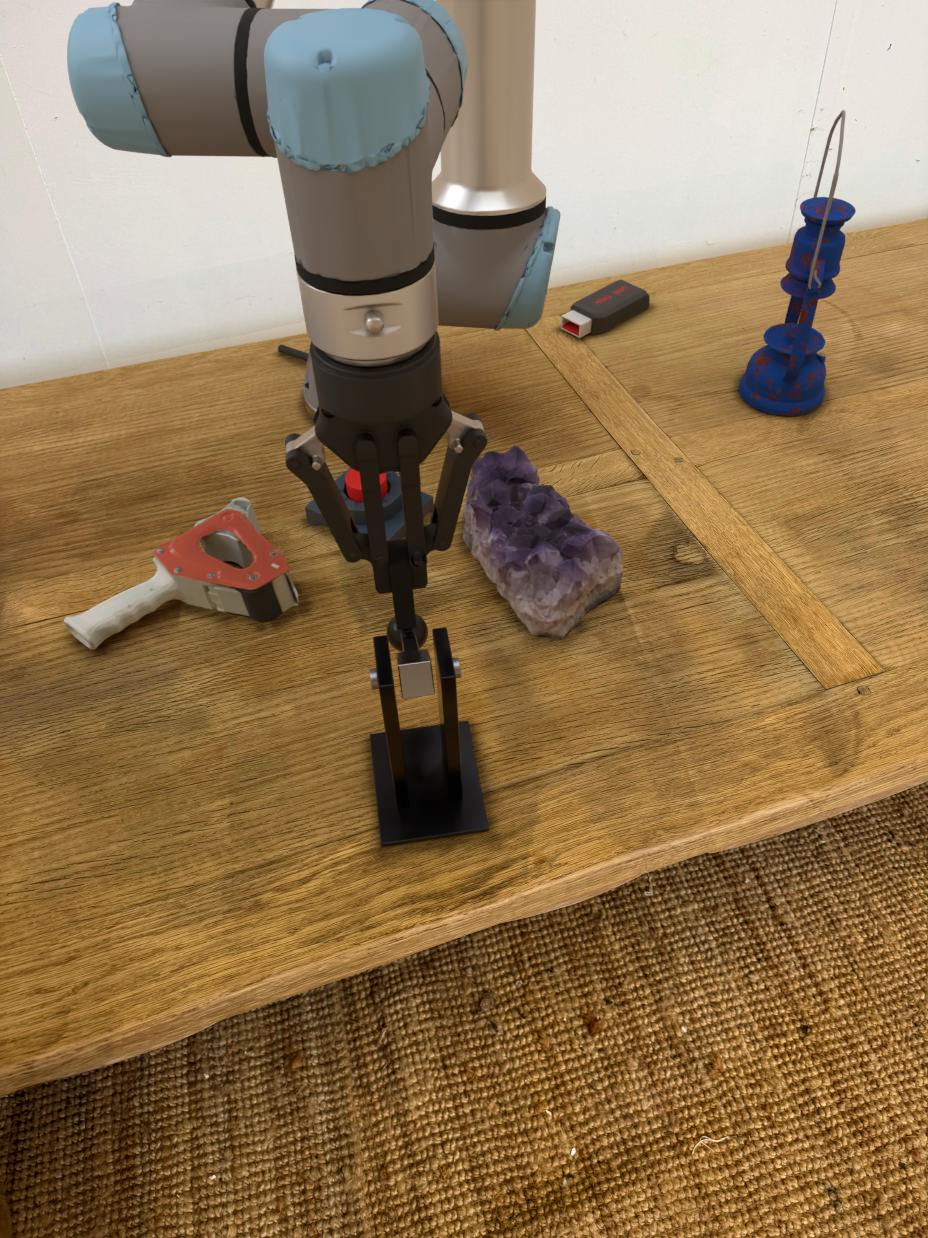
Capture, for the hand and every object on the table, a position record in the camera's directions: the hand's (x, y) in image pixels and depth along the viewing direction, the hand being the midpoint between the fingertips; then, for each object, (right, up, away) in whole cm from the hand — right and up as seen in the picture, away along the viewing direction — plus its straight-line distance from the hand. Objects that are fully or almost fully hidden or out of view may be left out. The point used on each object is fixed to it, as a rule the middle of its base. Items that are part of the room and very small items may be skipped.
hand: (404, 615), depth 71 cm
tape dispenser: (-20, +2, +17) cm, 26 cm away
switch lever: (+1, -4, -3) cm, 5 cm away
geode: (+10, +4, +18) cm, 22 cm away
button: (-5, +12, +21) cm, 25 cm away
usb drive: (+22, +38, +49) cm, 66 cm away
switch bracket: (+2, -13, +2) cm, 14 cm away
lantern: (+41, +26, +37) cm, 60 cm away
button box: (-5, +10, +24) cm, 26 cm away
